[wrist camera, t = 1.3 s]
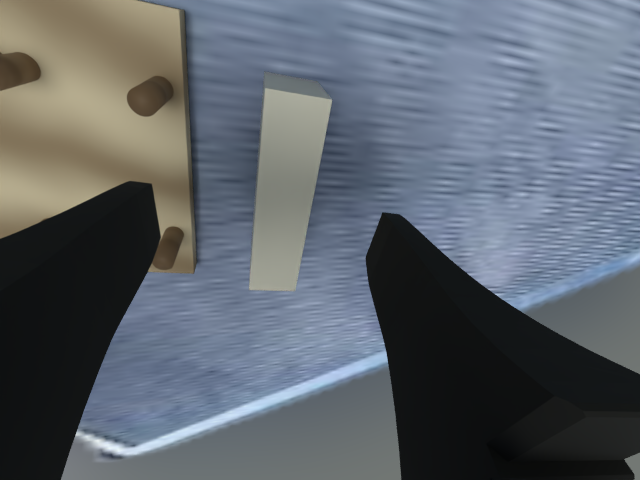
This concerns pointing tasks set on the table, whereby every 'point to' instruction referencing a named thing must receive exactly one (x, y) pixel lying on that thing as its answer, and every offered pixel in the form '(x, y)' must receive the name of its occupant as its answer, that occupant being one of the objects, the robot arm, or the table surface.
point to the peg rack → (96, 113)
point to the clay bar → (285, 177)
